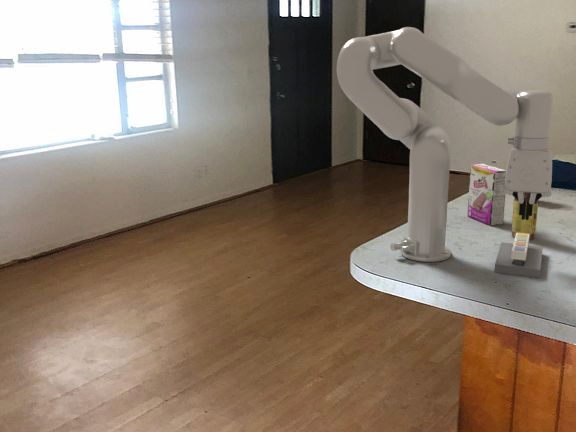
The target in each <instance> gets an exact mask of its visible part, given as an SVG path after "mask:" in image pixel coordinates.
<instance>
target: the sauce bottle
mask: <svg viewBox="0 0 576 432" xmlns="http://www.w3.org/2000/svg"><path fill="white" fill-rule="evenodd" d="M530 195H531V193H527V192H524V198H525V199H526V205H527V202H528V199H530ZM513 198H514V199H513V209H512V218H511V219H512V220H511V231H512V232H511V237H512V238H514V239H515V235H516V233H526V234H530V235H529V240H533V239H534V238H535V235H536V232H537V220H538V218H537V217H538V210H539V209H538V208H539V199H538V200H537V201H536V202H535V203H534V204H533V211H532V216H529V220H526V219H524V220H521V219H522V215H519V206H520V203H519V202H518V200H517V199H516V198H515V197H513ZM525 217H526V213H525Z"/></svg>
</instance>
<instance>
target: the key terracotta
mask: <svg viewBox="0 0 576 432" xmlns="http://www.w3.org/2000/svg"><path fill="white" fill-rule="evenodd" d="M528 245H529V243H523V242H514V241H513V247H523V248H528ZM526 255H527V254H526Z"/></svg>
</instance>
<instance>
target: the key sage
mask: <svg viewBox="0 0 576 432" xmlns="http://www.w3.org/2000/svg"><path fill="white" fill-rule="evenodd" d="M514 242H523V243H528V242H529V243H530V239H529V238H521V237H515V238H514V239H513V243H514ZM529 243H528V244H529ZM527 249H528V248H527Z"/></svg>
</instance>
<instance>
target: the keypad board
mask: <svg viewBox="0 0 576 432" xmlns="http://www.w3.org/2000/svg"><path fill="white" fill-rule="evenodd" d="M513 244H514V242H513V243H510V242H502V241H501V242H500V247H499V249H498V253H497V256H496V259H495V262H494V269H493V270H494V273H497V274H499V273H500V274H505V275H506V274H507V275H514V276H522V277H530V278H540V277H541V269H542V259H543V248H544V247H543V246H542V245H541V246H537V245H532V244H531V245H530V244H528V249H527V255H526V260H523V265H514V264H513V263H514V259H511V254H512V248H513Z"/></svg>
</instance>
